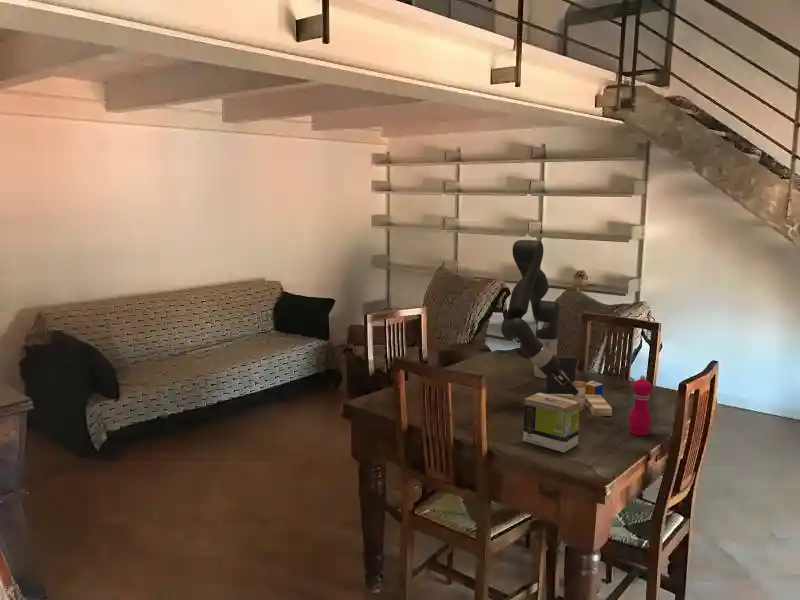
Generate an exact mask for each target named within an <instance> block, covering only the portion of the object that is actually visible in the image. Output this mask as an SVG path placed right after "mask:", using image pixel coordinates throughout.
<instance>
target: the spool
mask: <svg viewBox="0 0 800 600" xmlns="http://www.w3.org/2000/svg"><path fill="white" fill-rule="evenodd" d="M572 385H573V386H574V387H575V388H576V389H577V390H578V391H579V393H578V394H576V395H573V400H576V401H580V409H579V412H583V411H582V410H585V411H586V406H584V404H585V387H586V386H587V382H585V381H583V380H582V381H581V380H575V381H574V382H572Z"/></svg>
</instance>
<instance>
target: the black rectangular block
mask: <svg viewBox="0 0 800 600" xmlns="http://www.w3.org/2000/svg"><path fill="white" fill-rule="evenodd" d="M555 356H556V357H557V358H558V359H559V361H560V366H559V367H558V368H561V369H562V370H563V372H564V373H565V375H566V376H567V377H568V378H569V380H570V381H571V382H574V381H576V369H577V358H576V356H575V355H561V354H560V355H559V354H558V355H555ZM552 374H553V373H552ZM552 374H550V375H546V378H545V379H546V380H545V392H546V394H566V393H568V394H572V393H571V392H570V391H569V390H568V389H566V387H565V386H564V385H562V384H560V382H559V381H558V380H556V379H555V378H554V376H553V375H552Z"/></svg>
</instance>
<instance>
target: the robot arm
mask: <svg viewBox="0 0 800 600" xmlns="http://www.w3.org/2000/svg"><path fill="white" fill-rule="evenodd" d="M544 251H545V249H544V244H543V242H542V241H541V240H536V239H535V240H533V239H519V240H516V241H515V242H514V243H513V245H512V257H513V260H514V263H515V265H516V267H517V268H518V270H519V272H520V275H521V278H520V280H519V281H518V282H517V283H516V285H515V286H514V287H513V289H512V292H511V295H510V300H509V303H508V309H507V311H506V313H505V315H504V318H503V320H502V323H501V334H502V336H503V337H504V338H505V339H507V340H514V339H518V341H519V342H520V347H519V348H520V349H521V351H522V352H523V353H524V354H525V355H526V356H527V357H528V358H529V359H530V360H531V362H532V363H533V365H534V366H533V368H534V369H533V376H534V377H536V378H540V379H546V375H550V374H552V373H553V374H552V375H553V376H554V378H555V379H556V380H558V381H559V382H560V384H562V385H564V386H565V387H566V389H568V390H569V391H570V392H571V393H572V394H573V395H576V394H578V393H579V391H578V390H577V389H576V388H575V387H574V386H573V385H572V382H571V381H570V380H569V378H568V377H567V376H566V375H565V373H564V372H563V370H562V369H561V368H558V367H559V366H560V361H559V359H558V358H557V357H556V356H555V355H557V353H558V352H557V351H558V334H559V333H558V331H559V321H560V320H559V319H560V311H561V309H560V307H561V306H560V303H559V302H557V301H555V300H554V301H551V300H542V299H543V298H544V297H545V296H546V294H547V293H548V291H549V281H548V278H547V276H546V274H545V272H544V271H543V270H542V269H540V268H541V265H542V261H543V257H544ZM529 305H530V307H531V312H532V316H533V319H534V320H535V321H537V322H541V323H549V324H548V326H547V327H543V328H540V329H537V330H536V331H535V334H534V332H533V330H532V328H531V327H530V325H529V324H528V323H527V321H526V320H524V319H522V318H523V317H524V316H525V315H526V314H527V313H528V310H529Z"/></svg>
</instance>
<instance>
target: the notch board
mask: <svg viewBox="0 0 800 600" xmlns="http://www.w3.org/2000/svg"><path fill="white" fill-rule="evenodd" d="M548 394H549V395H553V396H558V397H562V398H567V399H571V400H573V394H566V393H548ZM584 405H586V406H585V407H586V408H587V407H588V408H587V409H588V410H589V412H590V411H591V412H590V413H591V414H592V416H593V415H594V416H593V417H600V416H611V418H612V417H613V408H612V407H611V405H610V404H609V403H608V402H607V401H606V400H605V398H604V396H601V395H585V404H584Z"/></svg>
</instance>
